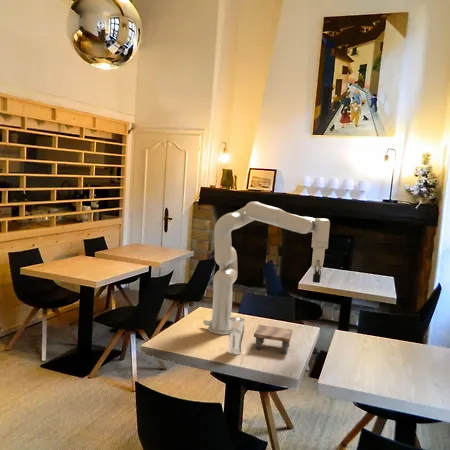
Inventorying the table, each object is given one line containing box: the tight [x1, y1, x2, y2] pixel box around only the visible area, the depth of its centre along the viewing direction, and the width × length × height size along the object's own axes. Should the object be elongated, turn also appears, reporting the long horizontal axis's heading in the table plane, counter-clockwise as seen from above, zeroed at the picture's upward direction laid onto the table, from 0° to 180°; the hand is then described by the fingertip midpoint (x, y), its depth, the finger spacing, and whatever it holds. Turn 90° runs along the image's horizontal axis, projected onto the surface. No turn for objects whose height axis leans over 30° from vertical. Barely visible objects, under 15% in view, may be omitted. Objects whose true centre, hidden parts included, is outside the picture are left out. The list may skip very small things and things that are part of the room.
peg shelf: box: [253, 324, 293, 355], centre depth 203 cm, size 16×14×8 cm
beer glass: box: [227, 316, 245, 356], centre depth 193 cm, size 7×7×15 cm
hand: (316, 280), depth 208 cm, fingers open, 9 cm apart
